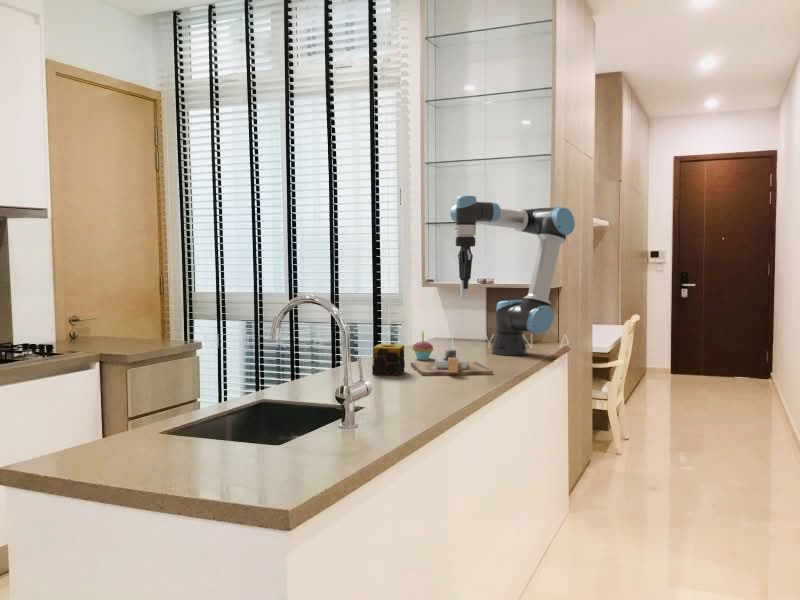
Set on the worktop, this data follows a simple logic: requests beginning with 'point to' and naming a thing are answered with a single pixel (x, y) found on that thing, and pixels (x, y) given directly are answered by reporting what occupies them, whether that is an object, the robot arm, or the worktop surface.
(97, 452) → the worktop surface
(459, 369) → the dowel
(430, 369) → the base board
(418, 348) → the cupcake
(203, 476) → the worktop surface
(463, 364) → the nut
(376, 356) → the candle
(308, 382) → the worktop surface
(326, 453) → the worktop surface
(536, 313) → the robot arm
